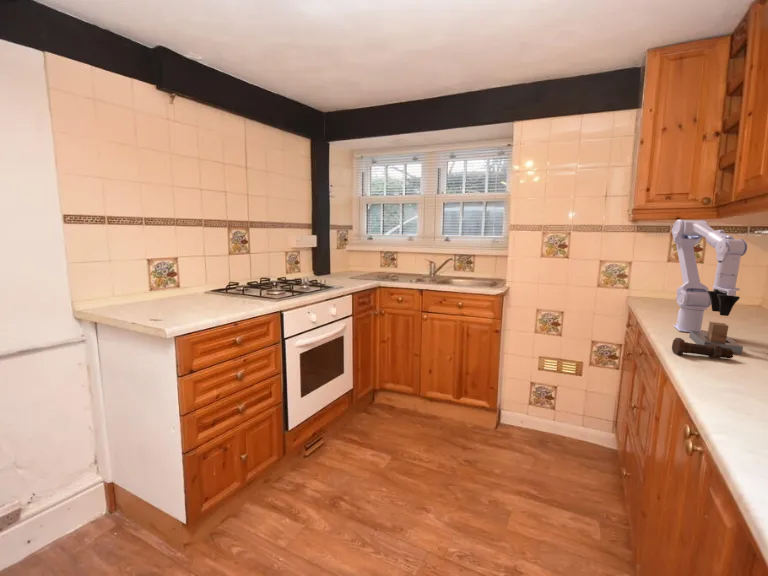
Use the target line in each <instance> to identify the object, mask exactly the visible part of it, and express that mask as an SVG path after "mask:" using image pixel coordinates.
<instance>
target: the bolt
mask: <svg viewBox="0 0 768 576" xmlns="http://www.w3.org/2000/svg"><path fill="white" fill-rule="evenodd" d="M671 344H672V345H671V350H672V353H673V354H674V355H675V356H683V354H693V355H701V356H707V357H708V358H710V359H712V358H713V360H719V359H720V358H722V359H732V358H734V355H735V353H734V352H733V350H732V349H731V348H725V347H721V346H720V345H718V344H714V343H712V344H710V345H701V344H697V343H694V342H693V343H692V342H687V341H685V339H683V338H681V337H675V338H674V339H673V340H672V343H671Z"/></svg>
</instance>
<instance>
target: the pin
mask: <svg viewBox="0 0 768 576" xmlns="http://www.w3.org/2000/svg"><path fill="white" fill-rule="evenodd" d="M728 330H729V325H728V324H726V323H724V322H717V321H716V322H715V321H709V324H708V327H707V332H708V333H707V339H708V340H709V341H717V342H726V337H727V336H728Z"/></svg>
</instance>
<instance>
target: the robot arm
mask: <svg viewBox="0 0 768 576" xmlns="http://www.w3.org/2000/svg"><path fill="white" fill-rule="evenodd" d="M671 235H672V238H673V239H672V240H673V242H674V243H675V244H676V250H677V257H678V262H679V266H680V267H679V268H680V272H681V273H680V274H681V278H682V285H680V286H679V287H678V288H677V289H676V299H675V300H676V302H677V305H678V307H679V310H678V311H677V318H676V324H673V327H674V328H675V329H676V330H677V331H678V332H683V333H690V330H691V331H700V332H704V331H703V330H702V325H703V319H704V314H705V311H707V309H708V308H710V306H711V311H712V312H719V315H720V316H724V317H729V316H730V314H731V311H732V310H733V307H734V306H735V304H736V303H737V302H738V301H739V300H740V299H741V297H740V296H738V295H737V291H741V288H739V287H736V286H737V281H738V275H739V271H740V270H739V269H740V263H741V258H742V257H743V256H744V255H745V254H746V253H747V250H748V243H747V242H746V240H745V239H744V238H738V239H736V238H734V236H733V235H731V234H730V235H729V234H727V233H726V231H725V230H724V229H716V230H715V229H713V228H712V227H711V226H710V225H709V222H708V221H705V220H704V219H701V220H696V219H695V220H693V219H692V220H691V219H690V220H689V219H677V220H676V221H674V223H673V225H672V229H671ZM703 238H704V239H705V242H706V243H707V245H709V246H710V247H712V248H713V249H715V250H714V251H715V253H716V257H715V258H716V261H717V264H716V270H715V276H714V283H713V285H712V290H709V287H708V286H707V285H705V284H703V283H702V282H701V280H700V273H699V270H698V264H697V260H696V256H695V254H696V253H695V248H694V246H695V245H697V244H699V243H700V241H701V240H702V239H703ZM736 295H737V296H736Z"/></svg>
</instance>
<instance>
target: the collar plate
mask: <svg viewBox="0 0 768 576" xmlns="http://www.w3.org/2000/svg"><path fill="white" fill-rule="evenodd" d="M707 333H708V331H703V332H700V331H691V330H690V332H689V336H688V337H689V338H690V339H691V340H692V341H693V343H694V344H701V345H710V344H712V343H714V344H718V345H720V346H721V347H725V348H731V349H732V350H733V352H734V355H735V354H736V355H742V354H743V349H744V346H743V345H741V344H739V343H738V342H736V341H735V340H734V339H732V338H731V337H729V336H728V335H727V337H726V342H717V341H709V340H708V339H707Z"/></svg>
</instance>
